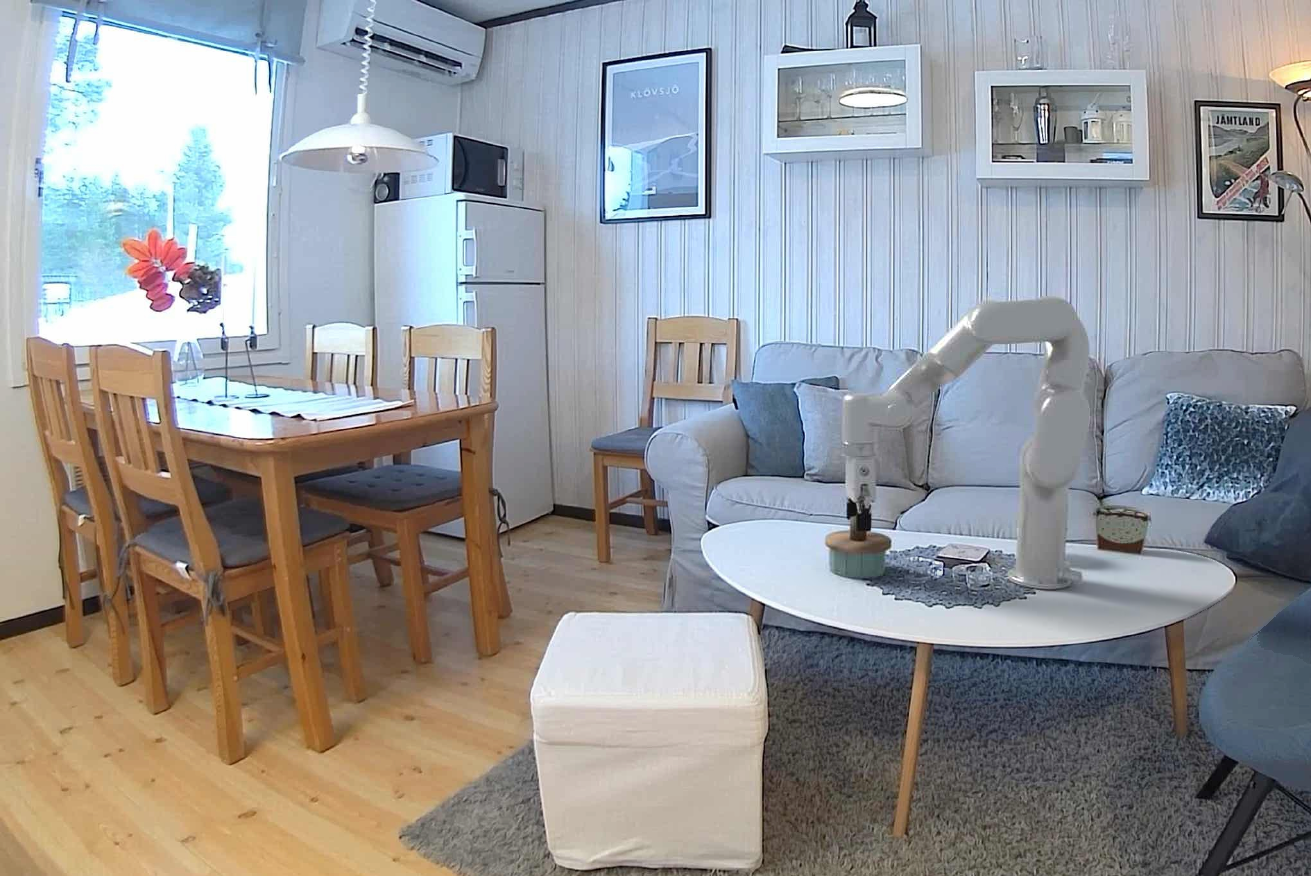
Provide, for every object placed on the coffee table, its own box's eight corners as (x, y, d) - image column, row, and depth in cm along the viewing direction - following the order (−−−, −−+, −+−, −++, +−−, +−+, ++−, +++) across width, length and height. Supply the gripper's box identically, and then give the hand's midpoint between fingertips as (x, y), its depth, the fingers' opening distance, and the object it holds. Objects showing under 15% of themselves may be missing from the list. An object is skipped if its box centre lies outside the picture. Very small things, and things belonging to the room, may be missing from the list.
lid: (904, 548, 203) (905, 518, 202) (864, 562, 194) (865, 530, 193) (851, 535, 214) (852, 506, 213) (811, 548, 205) (812, 518, 204)
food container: (1151, 549, 215) (1154, 508, 214) (1149, 556, 210) (1152, 514, 209) (1094, 542, 222) (1096, 502, 220) (1090, 549, 217) (1093, 508, 215)
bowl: (895, 570, 204) (896, 544, 203) (862, 582, 197) (863, 555, 196) (852, 558, 213) (852, 533, 212) (818, 569, 206) (819, 544, 205)
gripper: (886, 456, 192) (885, 535, 195) (867, 442, 209) (866, 514, 212) (850, 457, 192) (850, 536, 195) (834, 442, 209) (834, 515, 212)
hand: (858, 525), depth 203 cm, fingers open, 9 cm apart
